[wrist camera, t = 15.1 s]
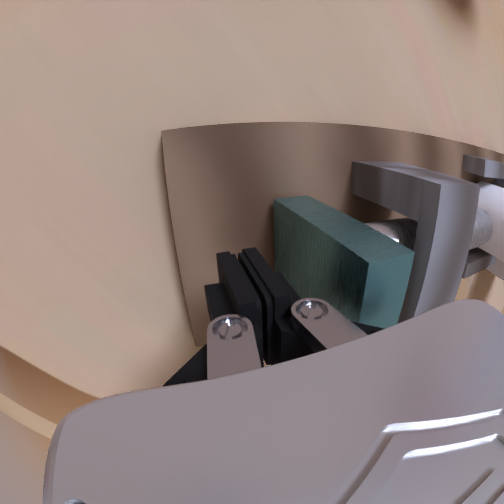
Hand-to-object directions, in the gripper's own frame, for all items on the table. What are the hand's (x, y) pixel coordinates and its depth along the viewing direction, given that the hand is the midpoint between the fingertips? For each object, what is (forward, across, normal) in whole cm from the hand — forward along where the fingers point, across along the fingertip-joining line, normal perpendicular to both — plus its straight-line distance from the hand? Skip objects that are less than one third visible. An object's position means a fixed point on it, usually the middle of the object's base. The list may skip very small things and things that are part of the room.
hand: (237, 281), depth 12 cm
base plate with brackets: (+5, -15, 0) cm, 16 cm away
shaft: (+3, -11, 0) cm, 12 cm away
